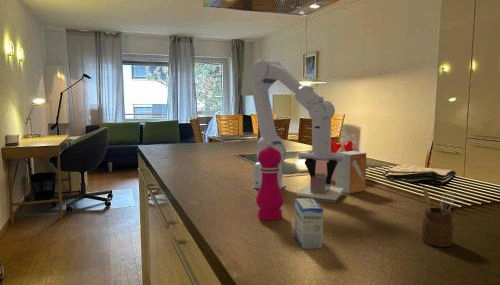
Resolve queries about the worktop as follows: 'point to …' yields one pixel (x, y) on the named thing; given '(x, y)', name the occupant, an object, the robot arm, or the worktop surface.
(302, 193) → the plate
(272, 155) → the pepper mill
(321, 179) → the housing
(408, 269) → the worktop surface
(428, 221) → the utensil holder
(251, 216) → the worktop surface
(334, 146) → the cake
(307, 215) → the medicine box
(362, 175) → the small box
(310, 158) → the robot arm
